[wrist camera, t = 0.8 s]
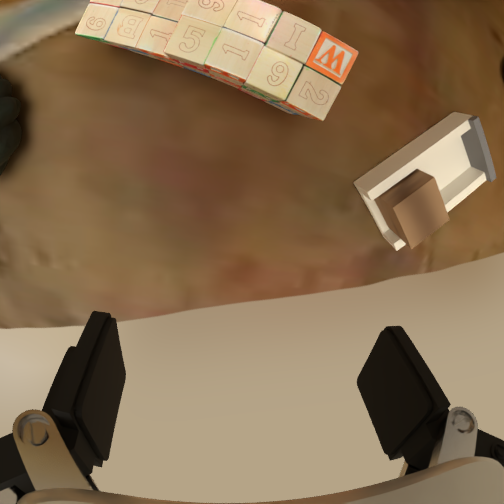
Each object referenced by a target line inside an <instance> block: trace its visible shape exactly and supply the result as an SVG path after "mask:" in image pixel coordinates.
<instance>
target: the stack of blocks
mask: <svg viewBox="0 0 504 504" xmlns="http://www.w3.org/2000/svg"><path fill="white" fill-rule="evenodd" d="M75 34H76V35H79V36H82V37H85V38H88V39H92V40H96V41H99V42H102V43H105V44H108V45H111V46H114V47H119V48H123V49H127V50H130V51H132V52H135V53H138V54H141V55H145V56H148V57H151V58H155V59H158V60H161V61H164V62H167V63H170V64H173V65H176V66H179V67H181V68H186V69H189V70H192V71H194V72H197V73H200V74H202V75H205V76H208V77H210V78H213V79H216V80H218V81H221V82H223V83H225V84H228V85H230V86H233V87H235V88H237V89H238V90H241V91H243V92H245V93H247V94H249V95H252V96H254V97H256V98H258V99H260V100H262V101H264V102H266V103H268V104H270V105H272V106H274V107H276V108H278V109H280V110H282V111H284V112H286V113H289V114H293V115H295V114H296V115H301V116H303V117H307V118H311V119H316V120H320V121H323V120H324V119H325V117H326V115H327V113H328V112H329V110H330V108H331V106H332V104H333V102H334V100H335V98H336V97H337V95H338V93H339V91H340V89H341V86H340V85H342V84H343V82H344V81H345V79H346V77H347V75H348V73H349V71H350V69H351V67H352V65H353V63H354V61H355V59H356V57H357V55H358V51H356V50H355V49H353V48H352V47H350V46H348V45H347V44H345V43H343V42H342V41H340V40H338V39H337V38H335V37H333V36H331V35H329V34H328V33H326V32H323V31H321V29H320V28H319V27H317V26H315V25H313V24H311V23H309V22H307V21H305V20H303V19H301V18H299V17H296V16H294V15H292V14H290V13H287V12H283V11H281V9H280V8H278V7H276V6H273V5H271V4H268V3H266V2H263V1H261V0H90V4H89V5H88V7H87V9H86V11H85V13H84V15H83V17H82V19H81V21H80V23H79V25H78V27H77V29H76V32H75Z"/></svg>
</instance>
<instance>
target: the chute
mask: <svg viewBox="0 0 504 504" xmlns="http://www.w3.org/2000/svg"><path fill="white" fill-rule="evenodd" d="M415 169H419V170H421V171H423V172H425V173H427V174H429V175H431V176H433V177H435V180H436V182H437V185H438V188H439V191H440V193H441V196H442V199H443V202H444V205H445V208H446V211H447V212H448V211H450V210H451V209H452V208H453V207H455V206H456V205H457V204H458V203H460V202H461V201H462V200H463V199H464V198H466V197H467V196H468V195H469V194H470V193H472V192H473V191H474V190H475V189H476V188H477V187H479V186H480V185H481V184H482V183H483V182H485V181H486V180H488V181H490V182H492V181H493V180H494V179H495V178H496V174H495V170H494V166H493V162H492V159H491V155H490V152H489V148H488V145H487V141H486V138H485V135H484V132H483V129H482V126H481V123H480V120H479V117H477V116H472V115H468V114H463V113H458V112H453V113H451V114H450V115H448V116H447V117H446V118H444V119H443V120H441V121H440V122H438V123H437V124H436V125H434V126H433V127H431V128H430V129H428V130H427V131H426V132H424V133H423V134H421V135H420V136H418V137H417V138H416V139H414V140H413V141H411V142H410V143H409V144H407V145H406V146H404V147H403V148H401V149H400V150H399V151H397V152H396V153H394V154H393V155H391V156H390V157H389V158H387V159H386V160H384V161H383V162H381V163H380V164H379V165H377V166H376V167H374V168H373V169H371V170H370V171H369V172H367V173H366V174H364V175H363V176H361V177H360V178H359V179H357V180H356V181H354V182H353V183H354V185H355V186H356V188H357V190H358V192H359V193H360V195H361V197H362V199H363V200H364V202H365V204H366V206H367V208H368V209H369V211H370V213H371V215H372V217H373V219H374V220H375V222H376V224H377V226H378V228H379V230H380V232H381V234H382V236H383V237H384V238H385V239H386V240H387V241H388V242H389V243H390V244H391V245H392V246H393V247H394V248H395V249H396V250H399V249H400V248H401V247H403V246H404V245H405V244H406V243H405V242H403V241H402V240H401V239H400V238H399V237H398V236H397V235H396V234H395V233H394V232H393V231H392V230H391V229H389V228H388V226H387V224H386V222H385V220H384V218H383V216H382V214H381V212H380V210H379V208H378V206H377V204H376V202H375V201H374V199H375V198H377V197H378V196H380V195H381V194H382V193H384V192H385V191H386V190H388V189H389V188H391V187H392V186H393V185H395V184H396V183H398V182H399V181H400V180H402V179H403V178H405V177H406V176H407V175H409V174H410V173H411V172H413V171H414V170H415Z"/></svg>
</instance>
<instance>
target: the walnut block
mask: <svg viewBox="0 0 504 504" xmlns="http://www.w3.org/2000/svg"><path fill="white" fill-rule="evenodd" d="M374 201H375V202H376V204H377V206H378V208H379V210H380V212H381V214H382V216H383V218H384V220H385V222H386V224H387V226H388V228H389V229H391V230H392V231H393V232H394V233H395V234H396V235H397V236H398V237H399V238H400V239H401V240H402V241H403V242H405V243H406V244H407V245H408V246H409V247H410V248H411V249H412V248H414V247H415V246H416V245H418V244H419V243H420V242H422V241H423V240H424V239H426V238H427V237H428V236H430V235H431V234H432V233H433V232H435V231H436V230H437V229H439V228H440V227H441V226H442V225H444V224H445V223H446V222H447V221H449V217H448V214H447V211H446V208H445V205H444V202H443V199H442V196H441V193H440V191H439V188H438V185H437V182H436V180H435V177H433V176H431V175H429V174H427V173H425V172H423V171H421V170H419V169H415V170H414V171H413V172H411V173H410V174H409V175H407V176H406V177H405V178H403V179H402V180H400V181H399V182H398V183H396V184H395V185H393V186H392V187H391V188H389V189H388V190H386V191H385V192H384V193H382V194H381V195H380V196H378V197H377V198H375V199H374Z"/></svg>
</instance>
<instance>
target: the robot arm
mask: <svg viewBox="0 0 504 504" xmlns="http://www.w3.org/2000/svg"><path fill="white" fill-rule="evenodd" d="M125 378H126V371H125V367H124V362H123V357H122V351H121V346H120V341H119V335H118V329H117V323H116V319H115V318H111V315H110V313H105V312H98V311H93V312H92V314H91V316H90V318H89V320H88V322H87V324H86V326H85V328H84V331H83V333H82V335H81V337H80V339H79V341H78V344H77V346H76V347H74V346H71V347H69V348H68V350H67V352H66V354H65V356H64V358H63V360H62V363H61V365H60V367H59V369H58V372H57V374H56V376H55V379H54V381H53V384H52V386H51V388H50V391H49V393H48V396H47V398H46V401H45V403H44V406H43V409H42V411H40V410H33V409H32V410H28V411H25V412H23V413H21V414H20V415H19V416H18V417H17V418H16V420H15V422H14V424H13V430H12V431H13V433H11V434H8V435H6V436H4V437H2V438H0V504H504V441H503V440H501V439H499V438H497V437H494V436H492V435H490V434H488V433H486V432H483V431H481V430H479V429H478V424H477V420H476V417H475V416H474V415H473V413H471V412H470V411H469V410H468V409H466V408H463V407H455V408H452V409H451V410H450V411H449V410H448V407H449V406H450V403H449V401H448V399H447V397H446V396H445V394H444V392H443V391H442V389H441V387H440V386H439V384H438V383H437V381H436V379H435V377H434V376H433V374H432V373H431V371H430V369H429V368H428V366H427V365H426V363H425V361H424V360H423V358H422V357H421V355H420V354H419V352H418V350H417V349H416V347H415V346H414V344H413V343H412V341H411V340H410V338H409V337H408V335H407V334H406V332H405V331H404V329H403V328H402V327H401V326H388V327H386V328H385V329H384V330H383V331H382V332H381V333H380V335H379V337H378V339H377V341H376V343H375V345H374V347H373V349H372V351H371V353H370V355H369V357H368V359H367V361H366V363H365V365H364V367H363V368H362V371H361V372H360V374H359V376H358V379H357V386H358V388H359V391H360V393H361V396H362V398H363V401H364V403H365V405H366V408H367V410H368V413H369V415H370V418H371V420H372V423H373V425H374V428H375V431H376V433H377V435H378V438H379V441H380V443H381V446H382V449H383V451H384V453H385V454H387V455H388V456H389V459H390V460H394V459H398V458H401V457H402V456H403V457H404V459H405V462H404V464H403V467H402V470H401V472H400V475H399V477H398V478H396V479H393V480H389V481H386V482H382V483H379V484H375V485H371V486H367V487H363V488H358V489H353V490H349V491H344V492H339V493H334V494H328V495H323V496H316V497H310V498H302V499H293V500H285V501H273V502H259V503H258V502H257V503H193V502H179V501H167V500H157V499H148V498H141V497H134V496H127V495H121V494H114V493H107V492H101V491H100V490H99V488H98V487H97V485H96V484H95V482H94V480H93V479H92V477H91V476H90V474H91V473H92V469H93V465H94V466H98V467H102V464H103V460H105V461H107V460H108V458H109V453H110V448H111V442H112V438H113V432H114V428H115V423H116V418H117V414H118V409H119V404H120V400H121V396H122V392H123V388H124V383H125Z"/></svg>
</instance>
